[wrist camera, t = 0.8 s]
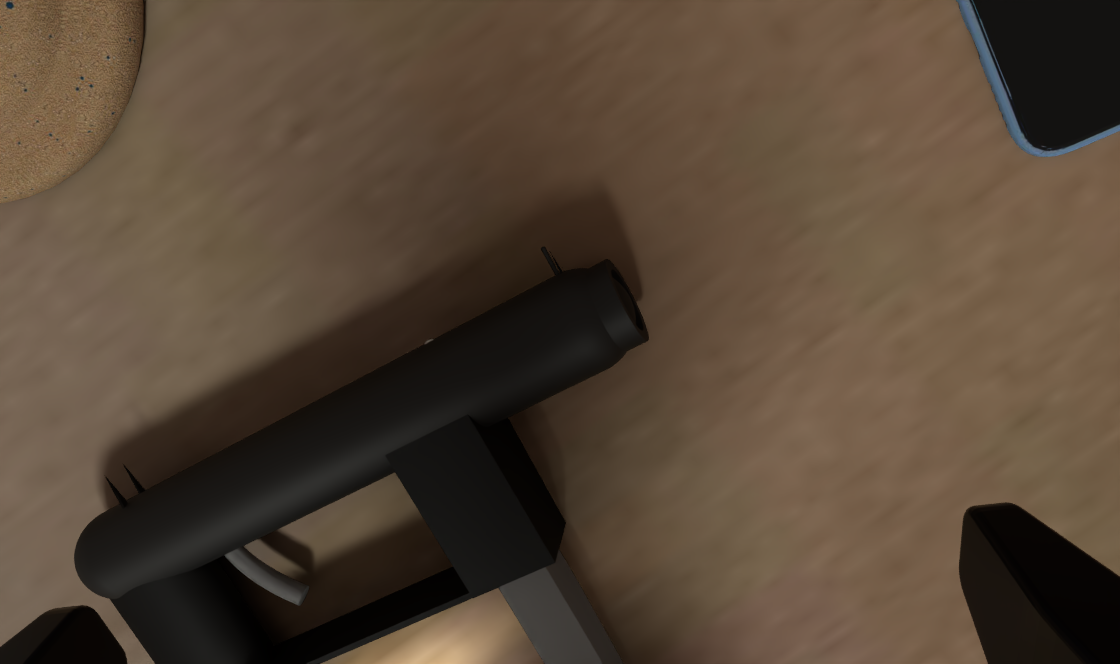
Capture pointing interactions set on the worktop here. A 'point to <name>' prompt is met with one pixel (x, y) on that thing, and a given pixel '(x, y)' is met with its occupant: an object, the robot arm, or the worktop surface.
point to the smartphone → (1050, 68)
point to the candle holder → (62, 85)
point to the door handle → (365, 457)
